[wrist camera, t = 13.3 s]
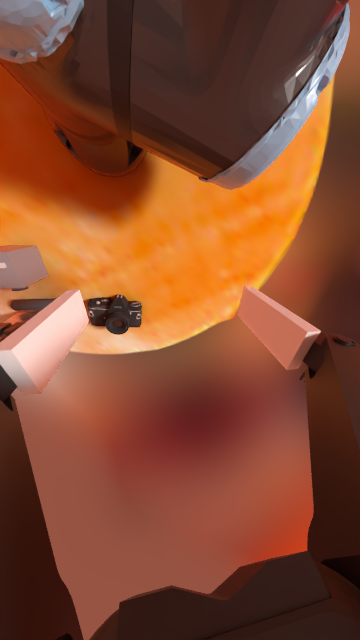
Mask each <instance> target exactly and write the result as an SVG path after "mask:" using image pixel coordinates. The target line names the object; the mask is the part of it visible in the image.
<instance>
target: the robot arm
mask: <svg viewBox="0 0 360 640" xmlns="http://www.w3.org/2000/svg"><path fill="white" fill-rule="evenodd" d="M347 2H348V0H0V64H1V65H2V66H3V67H4V68H5V69H6V70H7V71H8V72H9V73H10V74H11V75H12V76H13V77H14V78H15V79H16V80H17V81H18V82H19V83H20V84H21V85H22V86H23V87H24V88H25V89H26V90H27V91H28V92H29V93H30V94H31V96H32V97H33V98H34V99H35V100H36V101H37V102H38V103H39V104H40V105H41V106H42V107H43V110H44V112H45V114H46V117H47V119H48V121H49V123H50V125H51V126H52V128H53V130H54V132H55V133H56V135H57V136H58V138H59V139H60V141H61V142H62V143H63V145H64V146H65V147H66V148H67V149H68V151H69V152H70V153H71V154H72V155H73V156H74V157H75V158H77V159H78V160H79V161H80V162H81V163H82V164H84V165H85V166H86V167H88V168H89V169H91V170H93V171H94V172H96V173H99V174H101V175H105V176H111V177H117V176H122V175H125V174H128V173H130V172H131V171H133V170H134V169H135V168H136V167H137V166H138V165H139V164H140V163H141V161H142V160H143V158H144V156H145V154H146V152H147V151H148V152H150V153H152V154H154V155H156V156H158V157H160V158H162V159H164V160H166V161H168V162H170V163H172V164H174V165H176V166H178V167H180V168H182V169H184V170H186V171H188V172H190V173H192V174H194V175H196V176H198V177H199V179H200V180H201V181H203V182H211V183H214V184H216V185H218V186H221V187H223V188H225V189H235V188H239V187H243V186H245V185H247V184H248V183H250V182H251V181H253V180H254V179H256V178H257V177H258V176H259V175H260V174H262V173H263V172H264V171H265V170H266V169H267V168H268V167H269V166H270V165H271V164H272V163H273V162H274V161H275V160H276V159H277V157H278V156H279V155H280V154H281V153H282V152H283V151H284V150H285V148H286V147H287V146H288V145H289V143H290V142H291V141H292V140H293V138H294V137H295V136H296V134H297V133H298V132H299V130H300V129H301V128H302V126H303V125H304V123H305V122H306V120H307V119H308V117H309V116H310V114H311V113H312V111H313V110H314V108H315V107H316V105H317V103H318V95H319V94H320V93H321V92H322V90H323V89H324V88H325V87H326V86H327V85H328V84H329V83H330V81H331V79H332V77H333V75H334V73H335V71H336V69H337V67H338V65H339V62H340V60H341V58H342V55H343V52H344V50H345V47H346V43H347V39H348V35H349V29H350V23H349V16H350V8H349V5H348V3H347ZM237 315H238V316H239V317H240V319H241V320H242V321H243V322H244V323H245V324H246V325H247V327H248V328H249V329H250V330H251V331H252V332H253V333H254V334H255V335H256V336H257V338H258V339H259V340H260V341H261V342H262V343H263V344H264V345H265V346H266V348H267V349H268V350H269V351H270V352H271V353H272V354H273V355H274V356H275V358H276V359H277V360H278V361H279V362H280V363H281V364H282V365H283V366H284V368H285V369H286V370H291V369H298V368H299V367H300V365H301V363H302V362H304V363H306V364H307V367H306V368H305V370H304V371H303V373H302V375H301V376H300V380H302V378H304V377H305V383H306V398H307V413H308V428H309V441H310V442H309V443H310V457H311V473H312V488H313V503H314V513H313V518H312V521H311V524H310V527H309V531H308V541H307V542H308V543H307V548H308V551H304V552H299V553H295V554H290V555H285V556H280V557H275V558H271V559H267V560H263V561H259V562H256V563H252V564H248V565H245V566H241V567H239V568H238V569H237V570H236V571H235V572H234V573H233V574H232V575H231V576H229V577H228V578H227V579H226V580H225V581H224V582H223V583H222V584H221V585H220V586H219V587H217V588H216V589H215V590H214V591H213V592H212V593H210V594H205V593H201V592H196V591H192V590H188V589H184V588H180V587H176V586H167V587H164V588H160V589H156V590H153V591H150V592H145V593H142V594H138V595H135V596H133V597H130V598H128V599H126V600H124V601H122V602H120V605H119V609H118V610H117V611H115V612H114V613H113V614H112V615H111V616H110V617H109V618H108V619H107V620H106V621H105V622H104V623H103V624H102V625H101V626H100V627H99V628H98V629H97V631H96V632H95V633H94V634H93V636H92V637H91V638H90V640H360V346H359V345H358V344H357V343H356V342H355V341H353V340H351V339H349V338H347V337H344V336H341V335H337V334H328V335H326V334H324V333H323V332H321V331H320V330H318V329H317V328H315V327H314V326H312V325H311V324H309V323H308V322H306V321H304V320H303V319H301V318H300V317H298V316H297V315H295V314H294V313H292V312H291V311H289V310H288V309H286V308H284V307H283V306H281V305H280V304H278V303H277V302H275V301H274V300H272V299H271V298H269V297H267V296H266V295H264V294H263V293H261V292H260V291H258V290H257V289H255V288H254V287H244V290H243V293H242V297H241V301H240V305H239V309H238V313H237ZM88 322H89V319H88V316H87V312H86V309H85V306H84V303H83V299H82V296H81V293H80V290H67V291H66V292H65V293H63V294H62V295H61V296H59V297H58V298H57V299H56V300H54V301H53V302H52V303H50V304H49V305H48V306H47V307H45V308H44V309H43V310H41V311H40V312H39V313H37V314H36V315H35V316H34V317H32V318H31V319H30V320H28V321H27V322H26V323H25V324H23V325H21V326H19V327H17V328H15V329H13V330H12V331H11V332H9V333H8V334H7V335H5V336H4V337H3V338H1V339H0V640H84V639H83V636H82V632H81V629H80V625H79V621H78V617H77V614H76V611H75V607H74V603H73V600H72V597H71V595H70V593H69V591H68V589H67V587H66V585H65V584H64V582H63V581H62V579H61V577H60V575H59V573H58V570H57V566H56V563H55V559H54V555H53V551H52V547H51V543H50V539H49V535H48V531H47V527H46V523H45V519H44V515H43V511H42V507H41V503H40V499H39V495H38V491H37V487H36V483H35V479H34V475H33V471H32V467H31V463H30V459H29V455H28V451H27V447H26V443H25V439H24V435H23V431H22V427H21V423H20V419H19V415H18V411H17V407H16V403H15V399H14V398H13V397H12V396H11V394H12V392H13V391H14V390H15V389H16V388H18V389H19V390H20V392H22V394H23V395H29V394H40V393H42V391H43V390H44V388H45V387H46V385H47V384H48V382H49V381H50V379H51V378H52V376H53V375H54V373H55V372H56V370H57V369H58V367H59V366H60V364H61V363H62V361H63V360H64V358H65V357H66V355H67V353H68V352H69V351H70V349H71V348H72V346H73V345H74V343H75V342H76V340H77V339H78V337H79V336H80V334H81V333H82V331H83V330H84V328H85V327H86V325H87V324H88Z"/></svg>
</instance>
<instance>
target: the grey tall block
mask: <svg viewBox="0 0 360 640" xmlns="http://www.w3.org/2000/svg"><path fill="white" fill-rule="evenodd" d="M47 276H49V275H48V273H47V270H46V268H45V265H44V263H43V260H42V258H41V255H40V252H39V250H38V247H37V246H19V245H7V246H1V247H0V288H11V289H12V291H21V290H25V289H28V286H29V285H31V284H33V283H35V282H37V281H39V280H41V279H43V278H45V277H47Z"/></svg>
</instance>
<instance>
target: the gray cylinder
mask: <svg viewBox="0 0 360 640" xmlns="http://www.w3.org/2000/svg"><path fill="white" fill-rule="evenodd" d="M54 300H56V299H41V300H13V301H12V302H11V307H12V309H13V310H15V311H20V310H43V309H44V308H45V307H47V306H48V305H49V304H50V303H52V302H53V301H54Z"/></svg>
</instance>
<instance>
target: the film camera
mask: <svg viewBox="0 0 360 640" xmlns="http://www.w3.org/2000/svg"><path fill="white" fill-rule="evenodd" d="M141 307H142V306H141V303H139V302H137V301H133V302H130V301H128V300H127V299H126V298H125V297H124V296H123V295H117V296H116V298H115V299H114V300H110V298H105V297H102V298H95V299H90V300H89V301H88V309H89V315H90V319H91V323H92V325H94V326H106V328H107V330H108V331H109V332H111V333H113V334H123V333H125V332H126V331H127V330H128V328H129V327H140V325H141Z"/></svg>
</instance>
